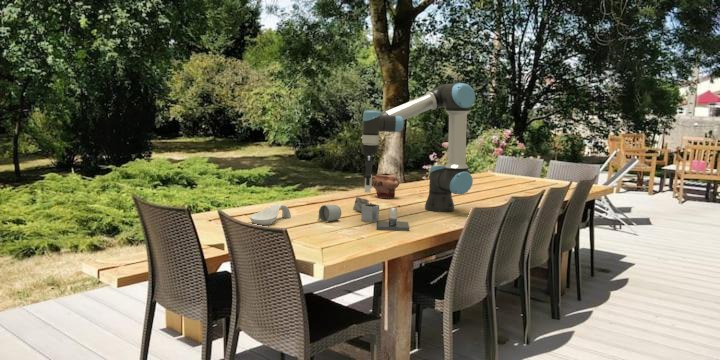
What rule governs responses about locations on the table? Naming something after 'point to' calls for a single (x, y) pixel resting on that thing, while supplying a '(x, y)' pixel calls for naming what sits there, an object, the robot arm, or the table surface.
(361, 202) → the caster wheel
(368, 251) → the table surface
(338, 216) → the ceramic mug
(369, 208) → the tube
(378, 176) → the decorative planter
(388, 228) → the shaft block
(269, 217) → the spoon rest
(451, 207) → the robot arm
